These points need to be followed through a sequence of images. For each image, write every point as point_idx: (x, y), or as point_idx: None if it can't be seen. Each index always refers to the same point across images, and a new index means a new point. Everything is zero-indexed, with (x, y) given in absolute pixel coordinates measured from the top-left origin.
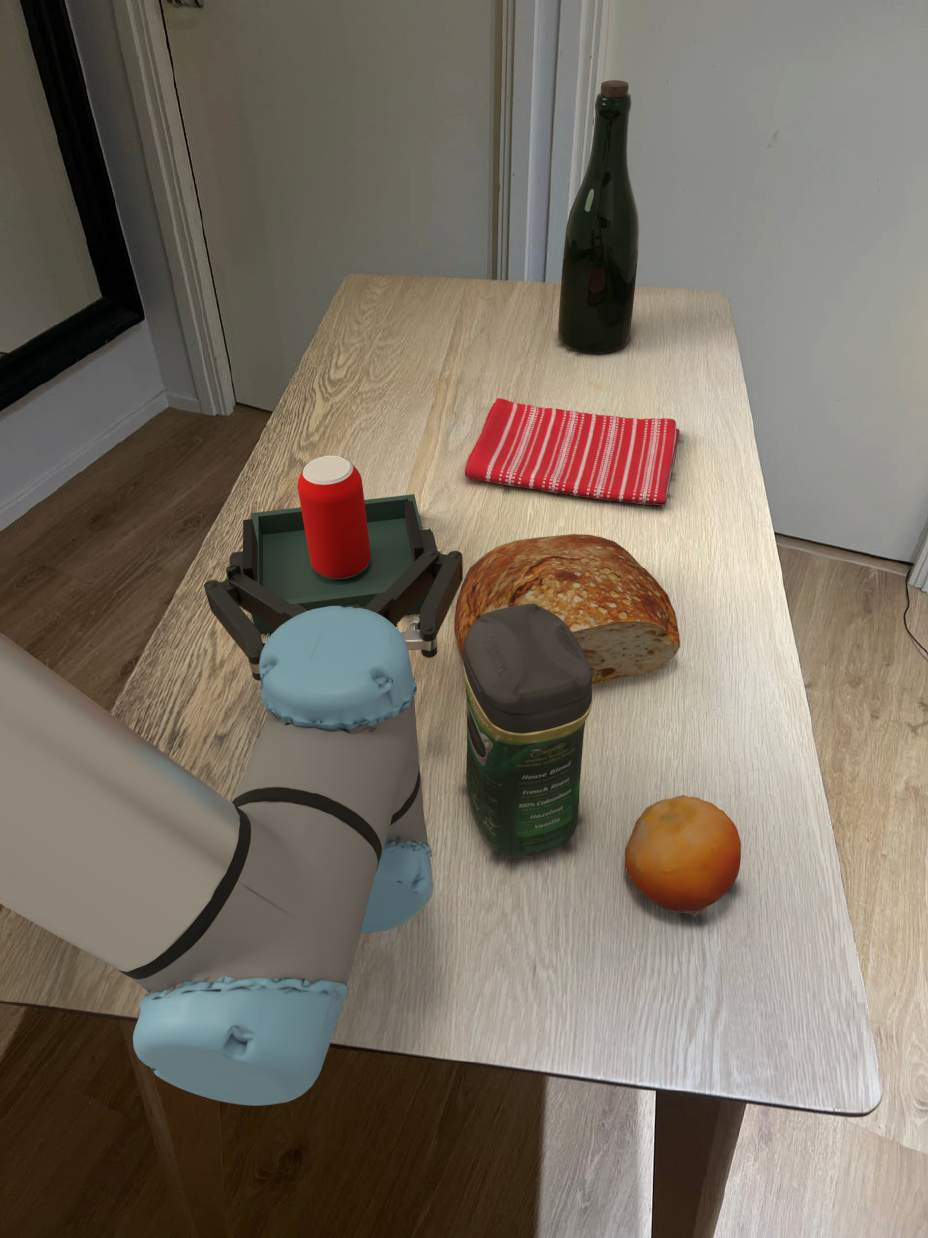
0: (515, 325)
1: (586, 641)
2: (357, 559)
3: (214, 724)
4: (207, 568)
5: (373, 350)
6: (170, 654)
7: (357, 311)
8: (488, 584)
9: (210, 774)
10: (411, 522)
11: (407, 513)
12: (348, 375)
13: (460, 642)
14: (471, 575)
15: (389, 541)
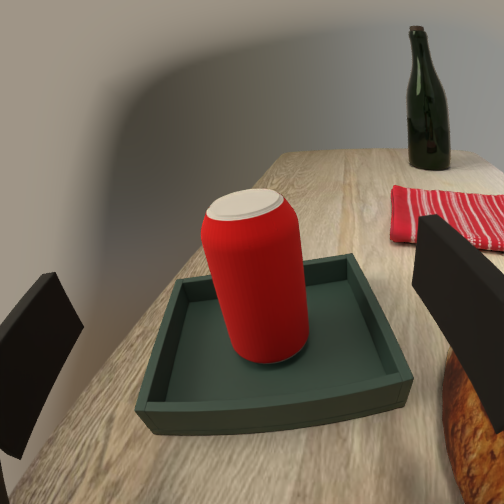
0: (381, 161)
1: None
2: (292, 338)
3: None
4: (132, 336)
5: (295, 175)
6: (66, 435)
7: (284, 163)
8: None
9: None
10: (474, 263)
11: (446, 240)
12: (279, 187)
13: (469, 479)
14: None
15: (329, 308)
